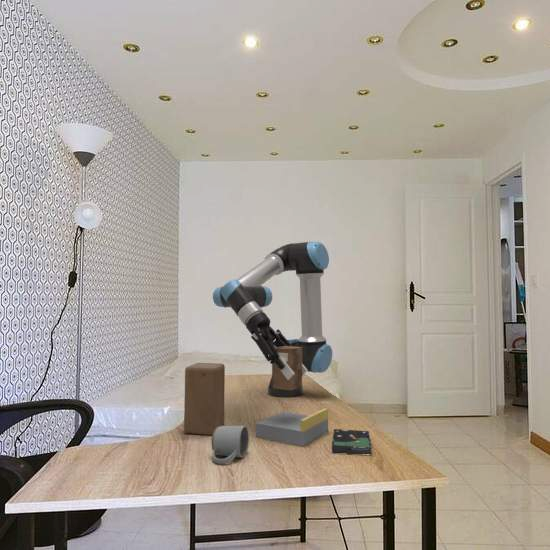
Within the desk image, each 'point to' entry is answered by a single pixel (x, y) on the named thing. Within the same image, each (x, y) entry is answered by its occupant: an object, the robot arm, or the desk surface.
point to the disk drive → (351, 442)
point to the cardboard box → (294, 362)
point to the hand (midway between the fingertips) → (297, 374)
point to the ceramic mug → (230, 443)
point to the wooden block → (204, 398)
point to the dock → (293, 427)
